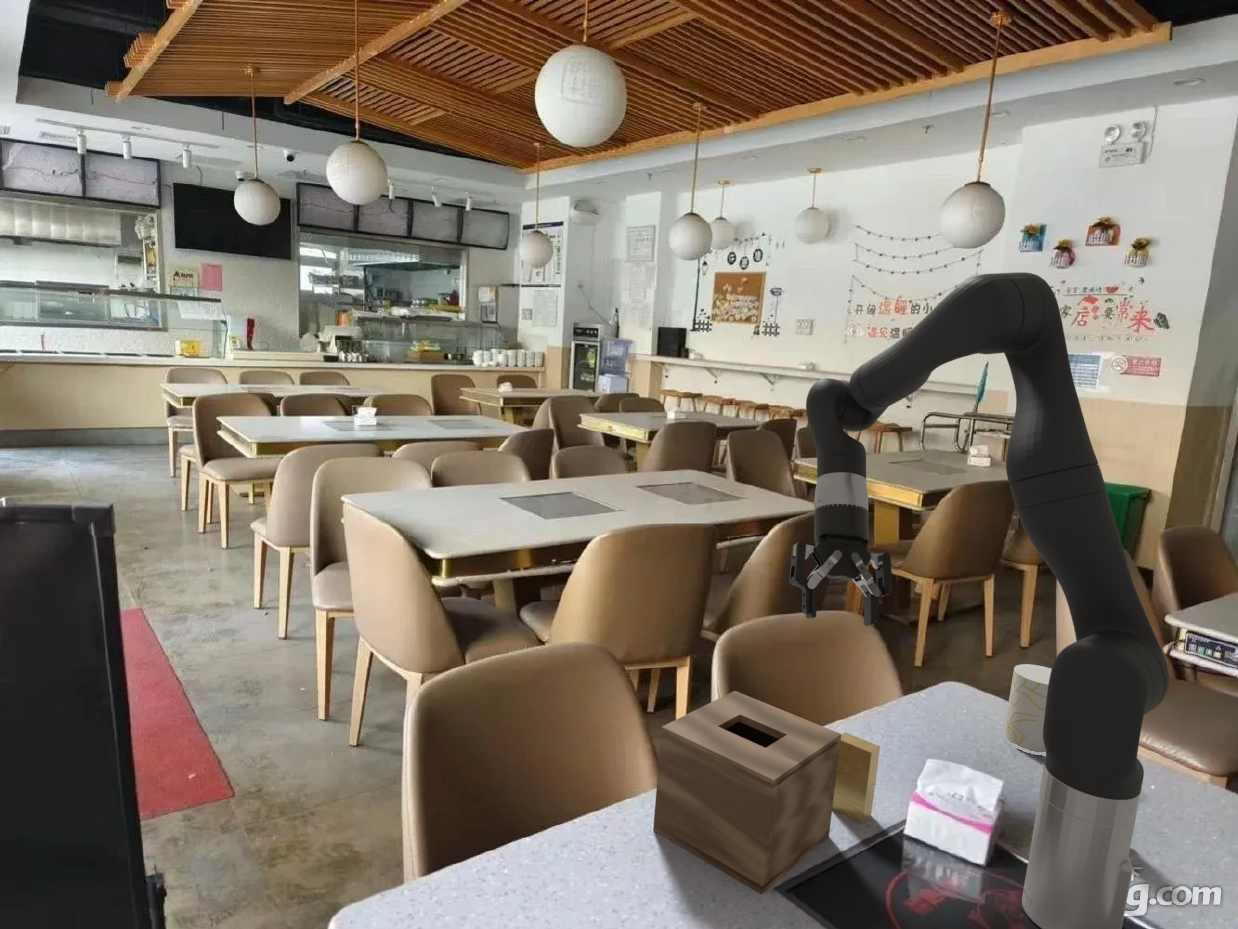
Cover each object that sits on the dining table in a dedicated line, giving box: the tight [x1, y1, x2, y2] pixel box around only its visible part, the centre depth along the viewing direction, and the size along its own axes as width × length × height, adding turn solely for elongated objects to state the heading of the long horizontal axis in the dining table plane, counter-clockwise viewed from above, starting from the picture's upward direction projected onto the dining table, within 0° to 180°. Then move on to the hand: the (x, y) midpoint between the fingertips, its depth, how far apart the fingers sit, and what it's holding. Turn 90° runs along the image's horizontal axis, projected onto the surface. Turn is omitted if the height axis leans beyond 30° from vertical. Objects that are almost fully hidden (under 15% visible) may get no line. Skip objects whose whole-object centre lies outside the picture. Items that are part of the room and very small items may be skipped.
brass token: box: [832, 731, 881, 824], centre depth 109 cm, size 3×5×10 cm, turn 48°
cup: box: [1003, 663, 1052, 752], centre depth 132 cm, size 8×8×12 cm
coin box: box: [652, 690, 842, 895], centre depth 102 cm, size 16×16×14 cm
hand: (840, 621), depth 113 cm, fingers open, 8 cm apart
